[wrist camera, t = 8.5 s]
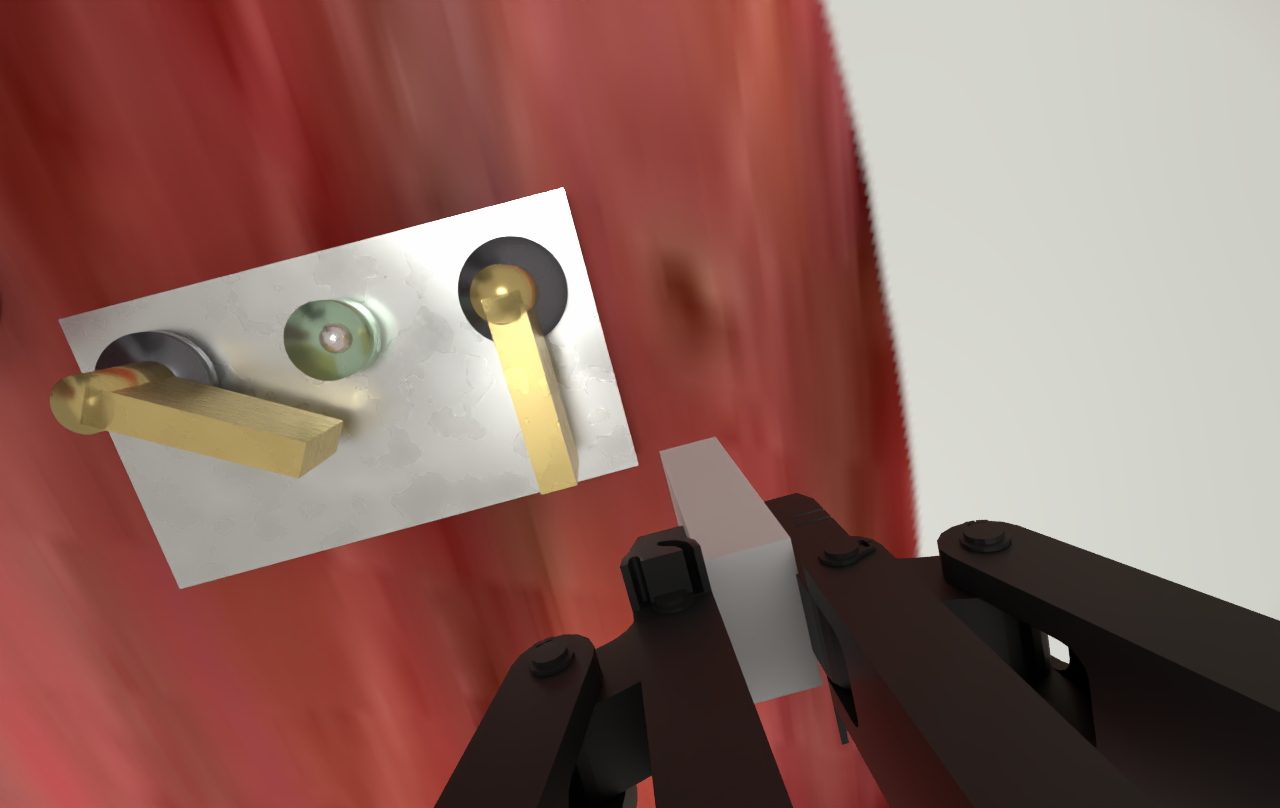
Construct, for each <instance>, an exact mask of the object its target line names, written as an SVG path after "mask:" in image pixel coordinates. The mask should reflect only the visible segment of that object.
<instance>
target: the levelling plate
mask: <svg viewBox="0 0 1280 808" xmlns="http://www.w3.org/2000/svg"><path fill="white" fill-rule="evenodd" d="M503 236H519V237H524V238H527V239H530V240H533V241H535V242H537V243H539V244H541V245H542V246H544V247H545V248H546V249H548V250H549V251H550V252H551V253H552V254H553V255H554V256H555V257H556V259H557V260H558V262H559V263H560V265H561V267H562V269H563V271H564V273H565V276H566V280H567V284H568V300H567V305H566V308H565V311H564V314H563V316H562V318H561V319H560V321H559V322H558V324H557V325H556V327H555V328H554V329H553V330H552V331H551V332H550V333H549V334H547V335H546V336H545V337H544V339H545V342H546V346H547V349H548V353H549V356H550V360H551V363H552V366H553V370H554V373H555V377H556V380H557V384H558V387H559V391H560V394H561V397H562V401H563V404H564V408H565V411H566V415H567V418H568V421H569V425H570V428H571V432H572V435H573V439H574V442H575V446H576V449H577V452H578V456H579V470H578V482H579V481H583V480H587V479H590V478H594V477H598V476H601V475H605V474H609V473H613V472H616V471H620V470H624V469H627V468H631V467H635V466H638V460H637V456H636V452H635V449H634V445H633V441H632V437H631V434H630V430H629V426H628V423H627V419H626V415H625V412H624V408H623V404H622V400H621V397H620V393H619V389H618V386H617V382H616V378H615V374H614V371H613V367H612V363H611V360H610V356H609V352H608V349H607V345H606V341H605V337H604V334H603V330H602V326H601V323H600V319H599V315H598V311H597V308H596V304H595V300H594V297H593V293H592V289H591V286H590V282H589V278H588V274H587V271H586V267H585V263H584V260H583V256H582V252H581V249H580V245H579V241H578V237H577V234H576V230H575V226H574V223H573V219H572V215H571V211H570V208H569V204H568V200H567V197H566V193H565V190H564V188H560V189H556V190H552V191H548V192H545V193H541V194H537V195H533V196H529V197H525V198H522V199H518V200H514V201H510V202H506V203H503V204H499V205H495V206H491V207H487V208H483V209H480V210H476V211H472V212H468V213H464V214H460V215H457V216H453V217H449V218H445V219H441V220H437V221H434V222H430V223H426V224H422V225H418V226H414V227H411V228H407V229H403V230H399V231H395V232H391V233H388V234H384V235H380V236H376V237H372V238H369V239H365V240H361V241H357V242H353V243H349V244H346V245H342V246H338V247H334V248H330V249H326V250H323V251H319V252H315V253H311V254H307V255H303V256H300V257H296V258H292V259H288V260H284V261H280V262H277V263H273V264H269V265H265V266H261V267H258V268H254V269H250V270H246V271H242V272H238V273H235V274H231V275H227V276H223V277H219V278H215V279H212V280H208V281H204V282H200V283H196V284H192V285H189V286H185V287H181V288H177V289H173V290H169V291H166V292H162V293H158V294H154V295H150V296H146V297H143V298H139V299H135V300H131V301H127V302H124V303H120V304H116V305H112V306H108V307H104V308H101V309H97V310H93V311H89V312H85V313H81V314H78V315H74V316H70V317H66V318H62V319H58V321H59V323H60V325H61V328H62V330H63V332H64V334H65V336H66V339H67V341H68V343H69V345H70V348H71V350H72V352H73V354H74V356H75V359H76V361H77V363H78V365H79V367H80V370H81V372H82V373H87V372H92V371H94V370H95V366H96V363H97V360H98V358H99V356H100V355H101V353H102V352H103V350H104V349H105V348H106V347H107V346H108V345H109V344H110V343H112V342H113V341H115V340H116V339H118V338H120V337H122V336H125V335H128V334H131V333H137V332H145V331H166V332H171V333H175V334H178V335H180V336H182V337H185V338H187V339H188V340H190V341H192V342H193V343H194V344H196V345H197V346H198V347H199V348H200V349H201V350H202V351H203V352H204V353H205V354H206V355H207V356H208V358H209V359H210V360H211V362H212V364H213V366H214V368H215V370H216V373H217V376H218V380H219V388H222V389H225V390H229V391H233V392H237V393H241V394H245V395H248V396H252V397H256V398H260V399H264V400H267V401H271V402H275V403H279V404H283V405H286V406H290V407H294V408H298V409H302V410H306V411H309V412H313V413H317V414H321V415H325V416H328V417H332V418H336V419H340V420H343V425H342V429H341V434H340V438H339V443H338V447H337V452H336V453H334V454H333V455H332V456H330V457H329V458H327V459H326V460H324V461H323V462H322V463H320V464H319V465H317V466H316V467H314V468H313V469H312V470H310V471H309V472H307V473H306V474H305V475H303V476H302V477H300V478H299V479H298V478H294V477H290V476H286V475H282V474H278V473H274V472H270V471H266V470H262V469H258V468H254V467H250V466H246V465H242V464H238V463H234V462H230V461H226V460H222V459H218V458H214V457H210V456H206V455H202V454H198V453H194V452H190V451H186V450H182V449H178V448H174V447H170V446H166V445H162V444H158V443H154V442H150V441H146V440H142V439H138V438H134V437H130V436H126V435H122V434H118V433H114V432H110V431H109V434H110V436H111V438H112V440H113V442H114V445H115V447H116V449H117V451H118V453H119V456H120V458H121V460H122V462H123V464H124V467H125V469H126V471H127V473H128V475H129V478H130V480H131V482H132V484H133V486H134V489H135V491H136V493H137V495H138V498H139V500H140V502H141V504H142V506H143V509H144V511H145V513H146V515H147V517H148V520H149V522H150V524H151V526H152V528H153V531H154V533H155V535H156V537H157V539H158V542H159V544H160V546H161V548H162V550H163V553H164V555H165V557H166V559H167V562H168V564H169V566H170V568H171V570H172V573H173V575H174V577H175V579H176V581H177V584H178V586H179V588H180V589H182V588H186V587H190V586H193V585H197V584H201V583H205V582H208V581H212V580H216V579H219V578H223V577H227V576H231V575H234V574H238V573H242V572H245V571H249V570H253V569H257V568H260V567H264V566H268V565H271V564H275V563H279V562H282V561H286V560H290V559H294V558H297V557H301V556H305V555H308V554H312V553H316V552H320V551H323V550H327V549H331V548H334V547H338V546H342V545H346V544H349V543H353V542H357V541H360V540H364V539H368V538H371V537H375V536H379V535H383V534H386V533H390V532H394V531H397V530H401V529H405V528H409V527H412V526H416V525H420V524H423V523H427V522H431V521H435V520H438V519H442V518H446V517H449V516H453V515H457V514H460V513H464V512H468V511H472V510H475V509H479V508H483V507H486V506H490V505H494V504H498V503H501V502H505V501H509V500H512V499H516V498H520V497H524V496H527V495H531V494H535V493H538V492H540V490H539V487H538V483H537V480H536V477H535V474H534V470H533V467H532V464H531V461H530V457H529V454H528V451H527V448H526V444H525V441H524V438H523V435H522V431H521V428H520V425H519V422H518V418H517V415H516V412H515V409H514V405H513V402H512V399H511V396H510V392H509V389H508V386H507V383H506V379H505V376H504V373H503V370H502V366H501V363H500V360H499V357H498V353H497V350H496V347H495V344H494V342H493V341H491V340H489V339H487V338H486V337H484V336H482V335H481V334H480V333H479V332H477V331H476V330H475V329H474V328H473V327H472V326H471V324H470V323H469V322H468V320H467V319H466V317H465V315H464V313H463V311H462V309H461V306H460V302H459V298H458V280H459V275H460V272H461V269H462V267H463V265H464V263H465V261H466V260H467V258H468V257H469V255H470V254H471V253H472V252H473V251H474V250H475V249H476V248H477V247H479V246H480V245H482V244H483V243H485V242H487V241H489V240H491V239H494V238H497V237H503Z"/></svg>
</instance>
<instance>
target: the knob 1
mask: <svg viewBox="0 0 1280 808" xmlns="http://www.w3.org/2000/svg"><path fill="white" fill-rule="evenodd" d="M50 406H51V410H52V412H53V414H54V416H55V418H56V419H57V420H58V421H59V423H60V424H62V425H63V426H64V427H65V428H67V429H69V430H70V431H73V432H75V433H79V434H86V435H88V434H96V433H99V432H102V431H105V430H106V431H110V432H114V433H118V434H122V435H126V436H130V437H134V438H138V439H142V440H146V441H150V442H154V443H158V444H162V445H166V446H170V447H174V448H178V449H182V450H186V451H190V452H194V453H198V454H202V455H206V456H210V457H214V458H218V459H222V460H226V461H230V462H234V463H238V464H242V465H246V466H250V467H254V468H258V469H262V470H266V471H270V472H274V473H278V474H282V475H286V476H290V477H294V478H298V479H299V478H300V477H302V476H303V475H305V474H306V473H307V472H309V471H310V470H312V469H313V468H314V467H316V466H317V465H319V464H320V463H322V462H323V461H324V460H326V459H327V458H329V457H330V456H332V455H333V454H334V453H336V452H337V447H338V443H339V438H340V434H341V429H342V425H343V420H340V419H336V418H332V417H328V416H325V415H321V414H317V413H313V412H309V411H306V410H302V409H298V408H294V407H290V406H286V405H283V404H279V403H275V402H271V401H267V400H264V399H260V398H256V397H252V396H248V395H245V394H241V393H237V392H233V391H229V390H225V389H222V388H219V380H218V376H217V373H216V370H215V368H214V366H213V364H212V362H211V360H210V359H209V358H208V356H207V355H206V354H205V353H204V352H203V351H202V350H201V349H200V348H199V347H198V346H197V345H196V344H194V343H193V342H192V341H190V340H188V339H187V338H185V337H182V336H180V335H178V334H175V333H171V332H166V331H145V332H137V333H131V334H128V335H125V336H122V337H120V338H118V339H116V340H115V341H113V342H112V343H110V344H109V345H108V346H107V347H106V348H105V349H104V350H103V352H102V353H101V355H100V356H99V358H98V360H97V363H96V366H95V370H94V371H92V372H87V373H82V374H77V375H72V376H68V377H65V378H63V379H61V380H60V381H59V382H58V383H56V385H55V386H54V387H53V389H52V392H51V395H50Z"/></svg>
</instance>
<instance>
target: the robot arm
mask: <svg viewBox="0 0 1280 808" xmlns="http://www.w3.org/2000/svg"><path fill="white" fill-rule="evenodd" d="M659 452H660V456H661V460H662V464H663V468H664V472H665V475H666V479H667V483H668V487H669V491H670V495H671V499H672V502H673V506H674V510H675V514H676V518H677V522H678V525H679V527H675V528H671V529H668V530H664V531H660V532H657V533H653V534H649V535H645V536H642V537H638V538H637V540H636V542H635V543H634V545H633V546H632V548H631V549H630V552H629V553H628V554H627V555H626V556H625V557H624V558H623V559H622V562H621V565H620V568H621V572H622V575H623V579H624V582H625V586H626V589H627V593H628V597H629V600H630V604H631V607H632V611H633V616H634V623H633V624H632V625H631V626H630V627H629V629H628V630H627V631H626V632H624V633H623V634H622V635H621V636H619V637H618V638H616V639H614V640H613V641H611V642H609V643H607V644H605V645H603V646H601V647H599V648H597V649H595V648H594V645H593V644H592V642H591V641H590V640H589V638H586V637H583V636H581V635H561V636H557V637H550V638H547V639H544V641H540V642H538V643H536V644H534V645H533V646H532V647H531V648H529V649H528V650H527V651H525V652H524V653H523V654H521V655H520V656H519V658H518V659H517V660H516V661H515V662H514V664H513V665H512V666H511V668H510V670H509V672H508V674H507V676H506V677H505V679H504V681H503V683H502V685H501V686H500V688H499V690H498V692H497V694H496V696H495V697H494V699H493V701H492V703H491V705H490V706H489V708H488V710H487V712H486V714H485V716H484V717H483V719H482V721H481V723H480V725H479V726H478V728H477V730H476V732H475V734H474V736H473V737H472V739H471V741H470V743H469V745H468V746H467V748H466V750H465V752H464V754H463V756H462V757H461V759H460V761H459V763H458V765H457V766H456V768H455V770H454V772H453V774H452V776H451V777H450V779H449V781H448V783H447V785H446V786H445V788H444V790H443V792H442V794H441V796H440V797H439V799H438V801H437V803H436V805H435V806H434V808H636V806H637V786H636V784H638V783H639V782H641V781H643V780H645V779H646V778H648V777H650V776H651V775H652V779H653V787H654V796H655V804H656V808H793V806H792V804H791V801H790V798H789V796H788V793H787V790H786V788H785V785H784V782H783V780H782V777H781V774H780V772H779V769H778V766H777V764H776V761H775V758H774V756H773V753H772V750H771V748H770V745H769V742H768V740H767V737H766V734H765V732H764V729H763V726H762V723H761V721H760V718H759V715H758V713H757V710H756V707H755V705H754V704H755V703H759V702H763V701H766V700H770V699H773V698H777V697H781V696H784V695H788V694H792V693H795V692H799V691H803V690H806V689H810V688H814V687H817V686H821V685H823V683H822V678H821V674H820V669H819V665H818V661H819V662H820V664H821V666H822V668H823V669H824V671H825V673H826V674H827V678H828V683H829V687H830V692H831V696H832V701H833V706H834V710H835V715H836V719H837V724H838V728H839V733H840V737H841V741H842V745H843V744H846V743H849V740H848V735H847V731H848V732H849V733H850V735H851V737H852V739H853V741H854V743H855V744H856V746H857V748H858V750H859V752H860V753H861V755H862V757H863V759H864V761H865V763H866V764H867V766H868V768H869V770H870V772H871V773H872V775H873V777H874V779H875V781H876V783H877V784H878V786H879V788H880V790H881V792H882V793H883V795H884V797H885V799H886V801H887V803H888V804H889V806H890V808H1280V621H1279V620H1276V619H1273V618H1270V617H1268V616H1265V615H1262V614H1260V613H1257V612H1254V611H1251V610H1249V609H1246V608H1243V607H1240V606H1238V605H1235V604H1232V603H1229V602H1227V601H1224V600H1221V599H1218V598H1215V597H1213V596H1210V595H1207V594H1205V593H1202V592H1199V591H1196V590H1194V589H1191V588H1188V587H1185V586H1183V585H1180V584H1177V583H1174V582H1172V581H1169V580H1166V579H1163V578H1160V577H1158V576H1155V575H1152V574H1150V573H1147V572H1144V571H1141V570H1139V569H1136V568H1133V567H1131V566H1128V565H1125V564H1122V563H1119V562H1117V561H1114V560H1111V559H1109V558H1106V557H1103V556H1100V555H1098V554H1095V553H1092V552H1089V551H1087V550H1084V549H1081V548H1078V547H1075V546H1073V545H1070V544H1067V543H1065V542H1062V541H1059V540H1056V539H1053V538H1051V537H1048V536H1045V535H1043V534H1040V533H1037V532H1034V531H1031V530H1029V529H1026V528H1023V527H1021V526H1018V525H1013V524H1009V523H1005V522H996V521H988V520H976V522H974V521H969V522H965V523H963V524H960V525H957V526H954V527H951V528H950V529H948V530H946V531H945V532H943V533H941V535H940V537H939V539H938V540H937V543H938V549H939V555H940V556H931V557H920V558H903V559H899V558H895V557H894V556H893V555H892V554H891V553H890V552H889V551H888V550H886V549H885V548H884V547H883V546H882V545H881V544H879V543H878V542H876V541H874V540H872V539H869V538H864V537H859V536H849V535H848V534H847V532H846V531H845V530H844V529H843V528H842V527H841V526H840V525H839V524H838V523H837V522H836V521H835V520H834V519H833V518H831V516H830V515H829V514H828V513H827V512H826V511H825V510H823V508H822V507H821V506H820V505H819V504H818V503H817V502H816V501H815V500H814V499H813V498H810V497H807V496H804V495H801V494H798V493H795V494H791V495H787V496H783V497H780V498H776V499H772V500H769V501H765V502H763V500H762V499H761V498H760V496H759V495H758V493H757V492H756V491H755V489H754V488H753V487H752V485H751V484H750V483H749V481H748V480H747V479H746V477H745V476H744V475H743V473H742V472H741V471H740V469H739V468H738V467H737V465H736V464H735V462H734V461H733V460H732V458H731V457H730V456H729V454H728V453H727V452H726V450H725V449H724V448H723V446H722V445H721V444H720V442H719V441H718V440H717V438H716V437H711V438H708V439H704V440H700V441H696V442H693V443H689V444H685V445H681V446H678V447H674V448H670V449H666V450H663V451H659ZM1048 635H1050V636H1052V637H1054V638H1056V639H1058V640H1059V641H1061V642H1062V643H1064V644H1065V645H1066V646H1068V648H1069V656H1070V663H1069V664H1068V663H1065V662H1062V661H1060V660H1059V659H1057V658H1055V657H1053V656H1052V655H1050V648H1049V640H1048ZM817 659H818V660H817Z"/></svg>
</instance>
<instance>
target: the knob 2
mask: <svg viewBox="0 0 1280 808" xmlns="http://www.w3.org/2000/svg"><path fill="white" fill-rule="evenodd" d="M458 298H459V302H460V306H461V309H462V311H463V313H464V315H465V317H466V319H467V320H468V322H469V323H470V324H471V326H472V327H473V328H474V329H475V330H476V331H477V332H479V333H480V334H481V335H482V336H484V337H486V338H487V339H489V340H491V341H493V342H494V344H495V347H496V350H497V353H498V357H499V360H500V363H501V366H502V370H503V373H504V376H505V379H506V383H507V386H508V389H509V392H510V396H511V399H512V402H513V405H514V409H515V412H516V415H517V418H518V422H519V425H520V428H521V431H522V435H523V438H524V441H525V444H526V448H527V451H528V454H529V457H530V461H531V464H532V467H533V470H534V474H535V477H536V480H537V483H538V487H539V490H540V493H541V495H543V494H546V493H550V492H554V491H558V490H561V489H565V488H569V487H572V486H576V485H577V483H578V470H579V456H578V452H577V449H576V446H575V442H574V439H573V435H572V432H571V428H570V425H569V421H568V418H567V415H566V411H565V408H564V404H563V401H562V397H561V394H560V391H559V387H558V384H557V380H556V377H555V373H554V370H553V366H552V363H551V360H550V356H549V353H548V349H547V346H546V342H545V339H544V337H545V336H546V335H547V334H549V333H550V332H551V331H552V330H553V329H554V328H555V327H556V325H557V324H558V322H559V321H560V319H561V318H562V316H563V314H564V311H565V308H566V305H567V300H568V284H567V280H566V276H565V273H564V271H563V269H562V267H561V265H560V263H559V262H558V260H557V259H556V257H555V256H554V255H553V254H552V253H551V252H550V251H549V250H548V249H546V248H545V247H544V246H542V245H541V244H539V243H537V242H535V241H533V240H530V239H527V238H524V237H519V236H503V237H497V238H494V239H491V240H489V241H487V242H485V243H483V244H482V245H480V246H479V247H477V248H476V249H475V250H474V251H473V252H472V253H471V254H470V255H469V257H468V258H467V260H466V261H465V263H464V265H463V267H462V269H461V272H460V275H459V280H458Z"/></svg>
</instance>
